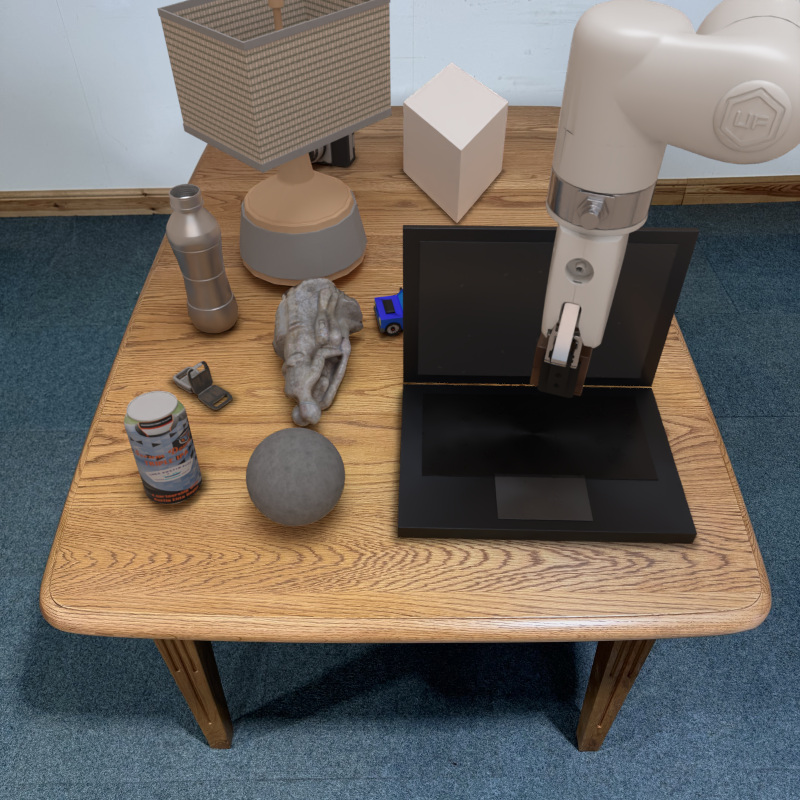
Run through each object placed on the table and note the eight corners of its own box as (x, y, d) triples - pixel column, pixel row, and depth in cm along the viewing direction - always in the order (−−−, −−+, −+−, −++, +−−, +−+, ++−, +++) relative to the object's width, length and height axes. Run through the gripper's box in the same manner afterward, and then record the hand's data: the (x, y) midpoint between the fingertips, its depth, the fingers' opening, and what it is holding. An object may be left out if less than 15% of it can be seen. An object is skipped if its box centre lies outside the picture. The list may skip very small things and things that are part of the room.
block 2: (588, 363, 67) (598, 325, 64) (580, 396, 64) (590, 358, 61) (540, 352, 68) (547, 314, 65) (529, 384, 65) (536, 346, 62)
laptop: (692, 543, 74) (697, 533, 72) (397, 537, 74) (397, 526, 73) (648, 398, 88) (652, 386, 87) (403, 394, 89) (402, 382, 88)
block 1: (493, 127, 141) (499, 62, 133) (511, 223, 117) (519, 150, 108) (403, 127, 141) (403, 62, 133) (402, 223, 117) (402, 150, 108)
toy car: (372, 311, 101) (371, 281, 97) (456, 300, 102) (458, 271, 99) (381, 341, 96) (380, 311, 93) (468, 329, 98) (471, 300, 94)
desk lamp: (290, 320, 99) (250, 36, 73) (209, 265, 109) (148, -4, 83) (400, 255, 110) (399, -12, 84) (317, 210, 120) (293, -42, 94)
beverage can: (148, 518, 76) (116, 442, 68) (146, 466, 81) (116, 389, 73) (209, 505, 77) (184, 429, 69) (203, 455, 82) (180, 378, 74)
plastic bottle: (232, 341, 96) (202, 207, 82) (184, 337, 97) (146, 203, 83) (247, 312, 101) (221, 179, 87) (201, 307, 101) (167, 175, 87)
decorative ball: (366, 508, 77) (363, 446, 70) (290, 563, 72) (277, 502, 65) (310, 455, 82) (301, 392, 75) (235, 503, 77) (218, 441, 70)
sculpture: (350, 457, 89) (254, 440, 85) (352, 343, 99) (267, 324, 95) (380, 408, 80) (276, 388, 77) (379, 290, 91) (287, 267, 87)
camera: (268, 167, 130) (260, 112, 123) (286, 147, 136) (279, 93, 129) (341, 177, 127) (337, 122, 120) (356, 156, 133) (353, 102, 126)
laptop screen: (700, 231, 73) (698, 227, 73) (402, 228, 74) (402, 224, 74) (651, 387, 87) (650, 383, 88) (402, 383, 88) (403, 379, 88)
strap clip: (171, 382, 91) (163, 357, 88) (190, 369, 92) (183, 344, 89) (216, 413, 87) (209, 387, 84) (235, 399, 89) (229, 373, 86)
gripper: (638, 264, 47) (586, 449, 60) (662, 149, 58) (615, 326, 71) (524, 242, 49) (498, 426, 62) (569, 135, 60) (539, 310, 73)
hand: (561, 371), depth 66 cm, fingers closed on block 2, 4 cm apart
